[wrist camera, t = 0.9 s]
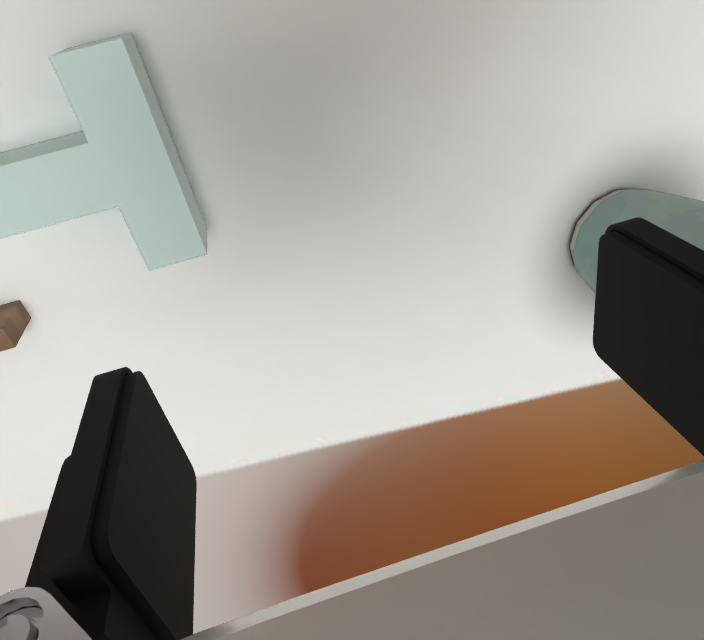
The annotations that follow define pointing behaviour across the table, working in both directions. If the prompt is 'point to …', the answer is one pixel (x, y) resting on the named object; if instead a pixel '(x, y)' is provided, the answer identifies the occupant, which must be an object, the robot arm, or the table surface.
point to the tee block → (107, 159)
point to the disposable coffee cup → (656, 207)
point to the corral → (12, 324)
